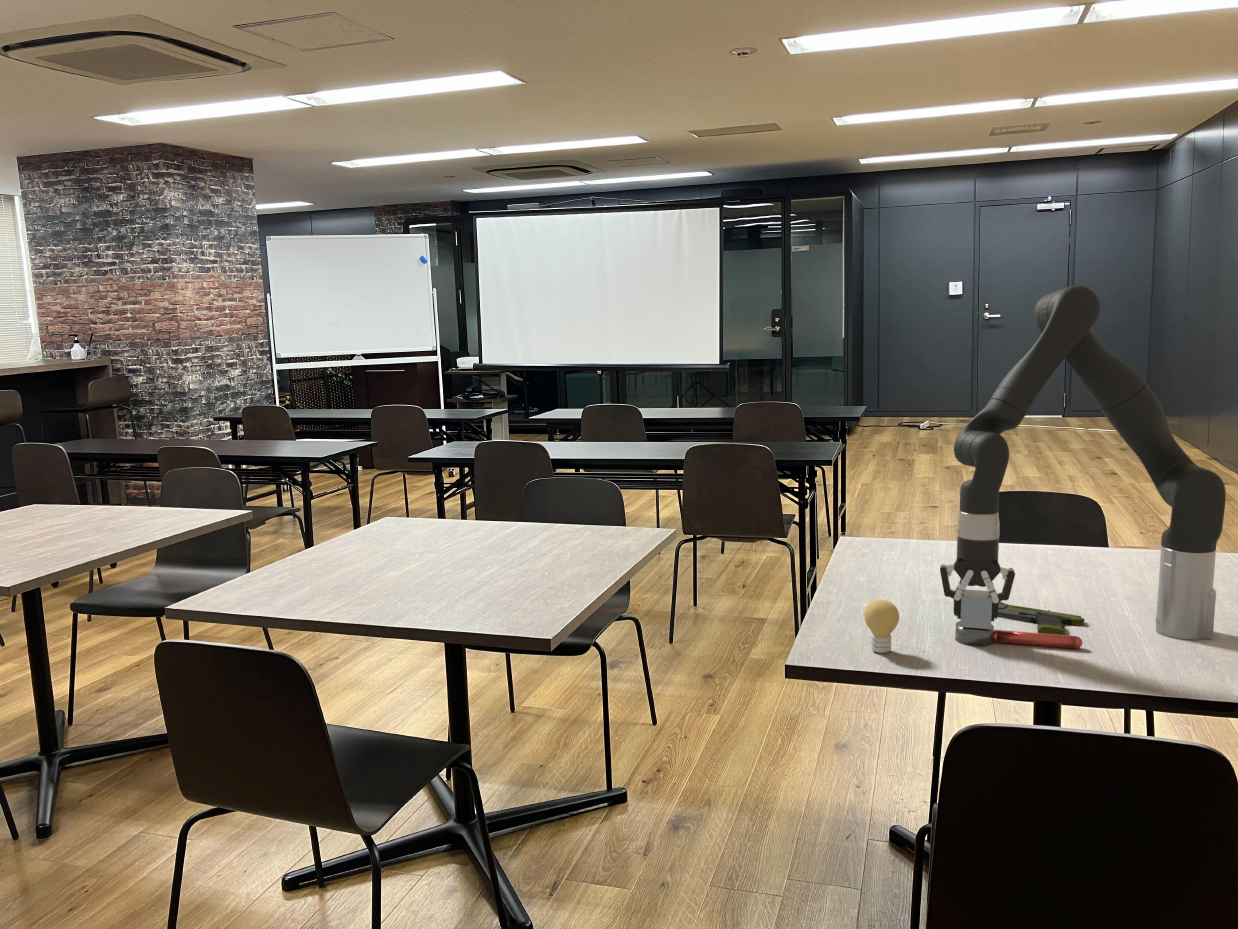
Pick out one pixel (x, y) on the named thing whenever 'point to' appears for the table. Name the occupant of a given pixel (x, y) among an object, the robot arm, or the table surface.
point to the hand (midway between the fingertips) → (975, 618)
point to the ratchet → (1013, 638)
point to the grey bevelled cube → (976, 609)
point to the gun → (1040, 618)
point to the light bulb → (881, 624)
